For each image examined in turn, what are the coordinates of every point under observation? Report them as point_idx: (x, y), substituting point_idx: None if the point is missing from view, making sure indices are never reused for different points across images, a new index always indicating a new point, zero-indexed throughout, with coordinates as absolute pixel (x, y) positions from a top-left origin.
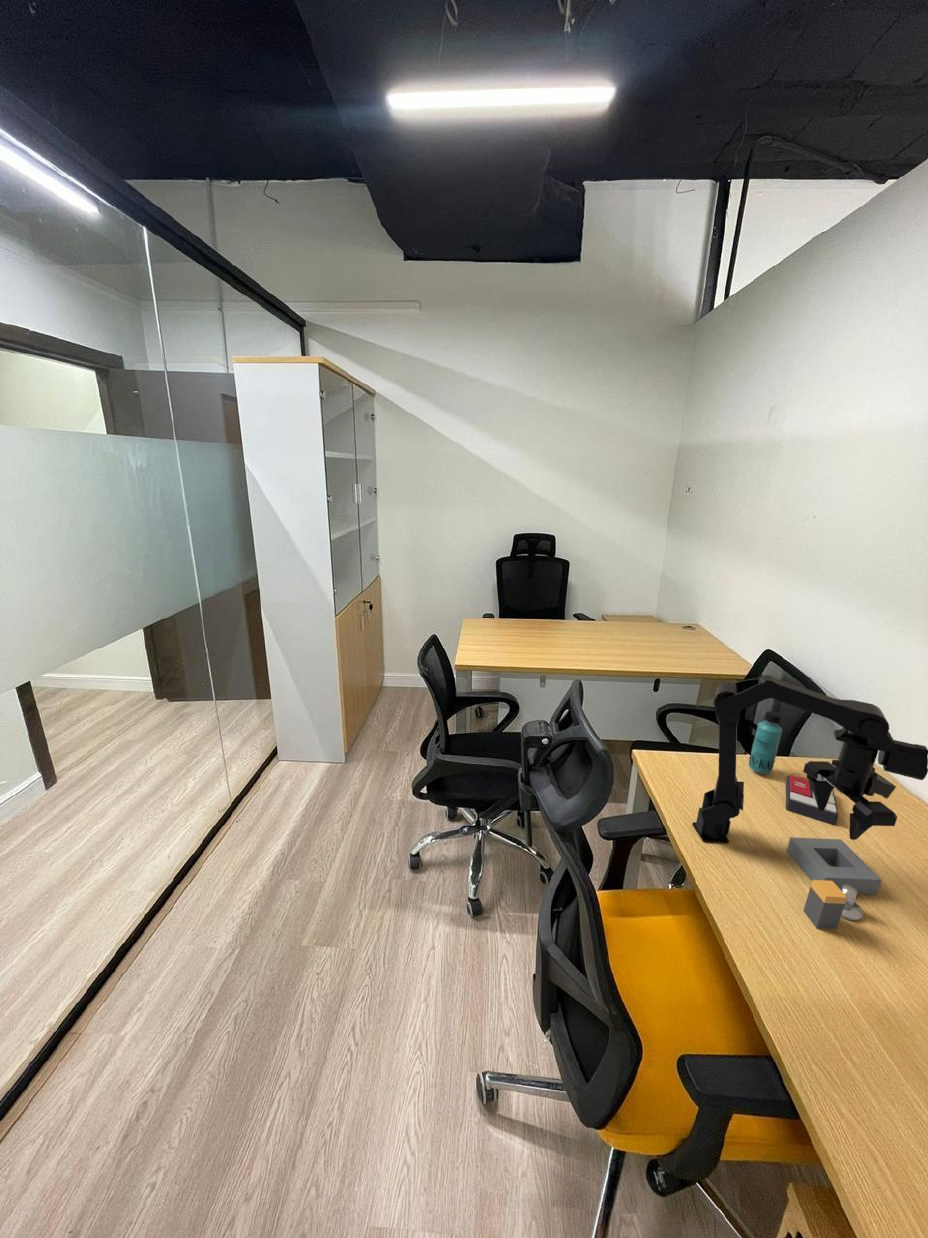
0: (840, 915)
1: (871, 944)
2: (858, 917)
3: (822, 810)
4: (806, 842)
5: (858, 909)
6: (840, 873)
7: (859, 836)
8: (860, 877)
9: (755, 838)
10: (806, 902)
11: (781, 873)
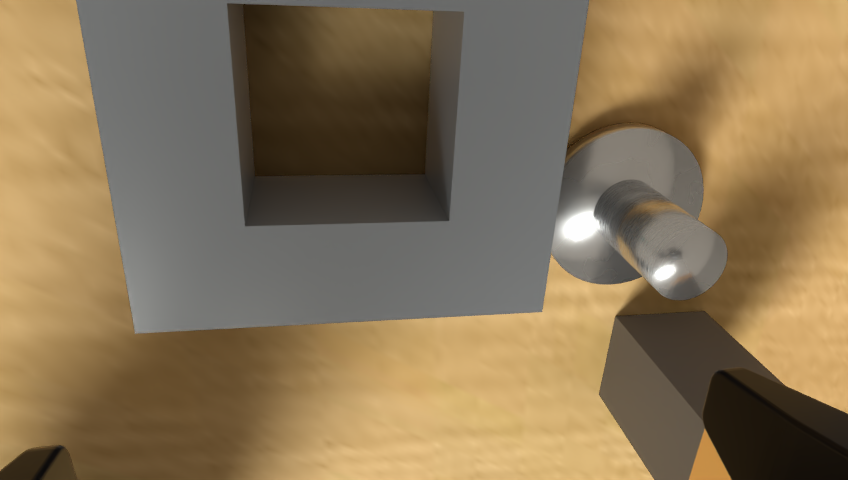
0: (756, 363)
1: (800, 210)
2: (701, 192)
3: (70, 464)
4: (180, 240)
5: (659, 151)
6: (516, 188)
7: (814, 402)
8: (564, 56)
9: (64, 397)
10: (627, 433)
11: (369, 382)
